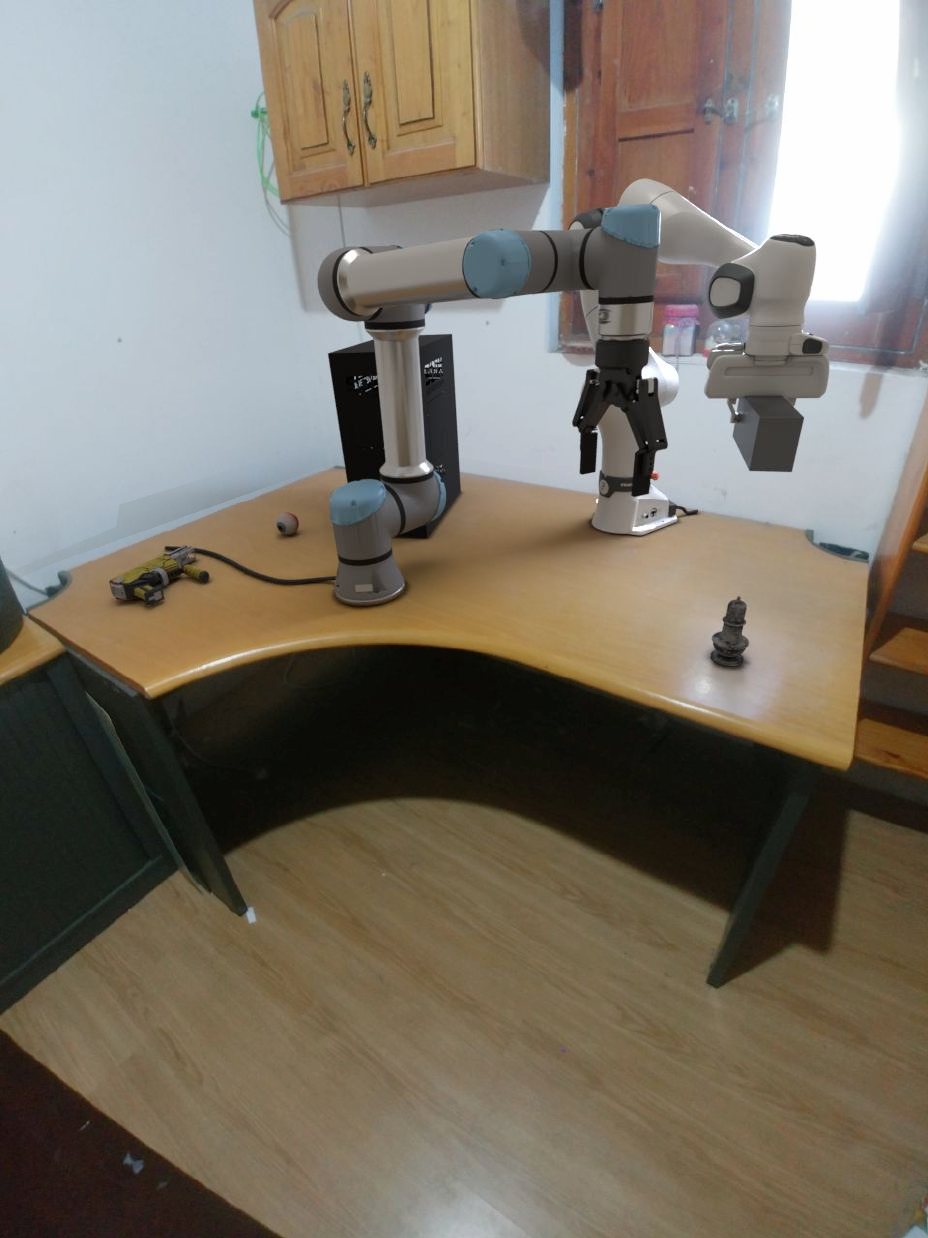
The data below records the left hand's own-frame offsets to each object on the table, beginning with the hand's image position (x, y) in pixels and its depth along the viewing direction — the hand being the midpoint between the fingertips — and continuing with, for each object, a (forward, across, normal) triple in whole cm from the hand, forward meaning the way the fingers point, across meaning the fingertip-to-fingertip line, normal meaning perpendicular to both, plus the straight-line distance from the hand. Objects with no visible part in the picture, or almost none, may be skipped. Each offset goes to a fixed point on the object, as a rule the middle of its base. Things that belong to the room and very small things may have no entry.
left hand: (612, 483), depth 96 cm
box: (0, -1, +33) cm, 33 cm away
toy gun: (+30, -69, -71) cm, 103 cm away
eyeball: (+30, -86, -41) cm, 99 cm away
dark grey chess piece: (+30, +15, +15) cm, 37 cm away
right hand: (-3, -7, +38) cm, 39 cm away
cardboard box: (+30, -84, -6) cm, 89 cm away
